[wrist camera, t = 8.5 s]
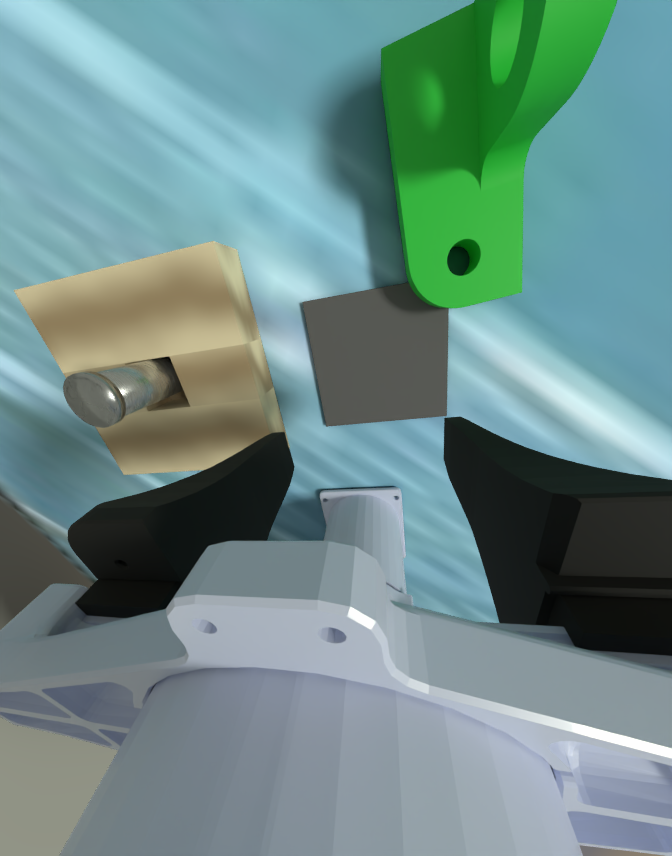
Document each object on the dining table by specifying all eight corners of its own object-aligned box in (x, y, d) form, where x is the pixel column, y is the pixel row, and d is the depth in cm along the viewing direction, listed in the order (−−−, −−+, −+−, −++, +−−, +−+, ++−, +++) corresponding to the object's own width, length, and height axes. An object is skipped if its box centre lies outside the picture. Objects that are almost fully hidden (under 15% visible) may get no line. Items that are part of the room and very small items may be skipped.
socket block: (289, 447, 25) (279, 465, 22) (148, 458, 28) (124, 474, 25) (236, 249, 18) (213, 241, 16) (58, 291, 21) (13, 290, 19)
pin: (206, 387, 23) (127, 423, 16) (174, 393, 24) (85, 431, 17) (189, 347, 22) (96, 368, 15) (156, 355, 23) (52, 379, 15)
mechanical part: (380, 81, 14) (384, -158, 7) (504, 23, 13) (674, -353, 5) (412, 318, 18) (434, 324, 11) (506, 293, 17) (601, 283, 10)
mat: (445, 414, 22) (446, 415, 21) (327, 424, 23) (326, 426, 23) (447, 275, 17) (449, 275, 17) (303, 302, 19) (302, 302, 19)
